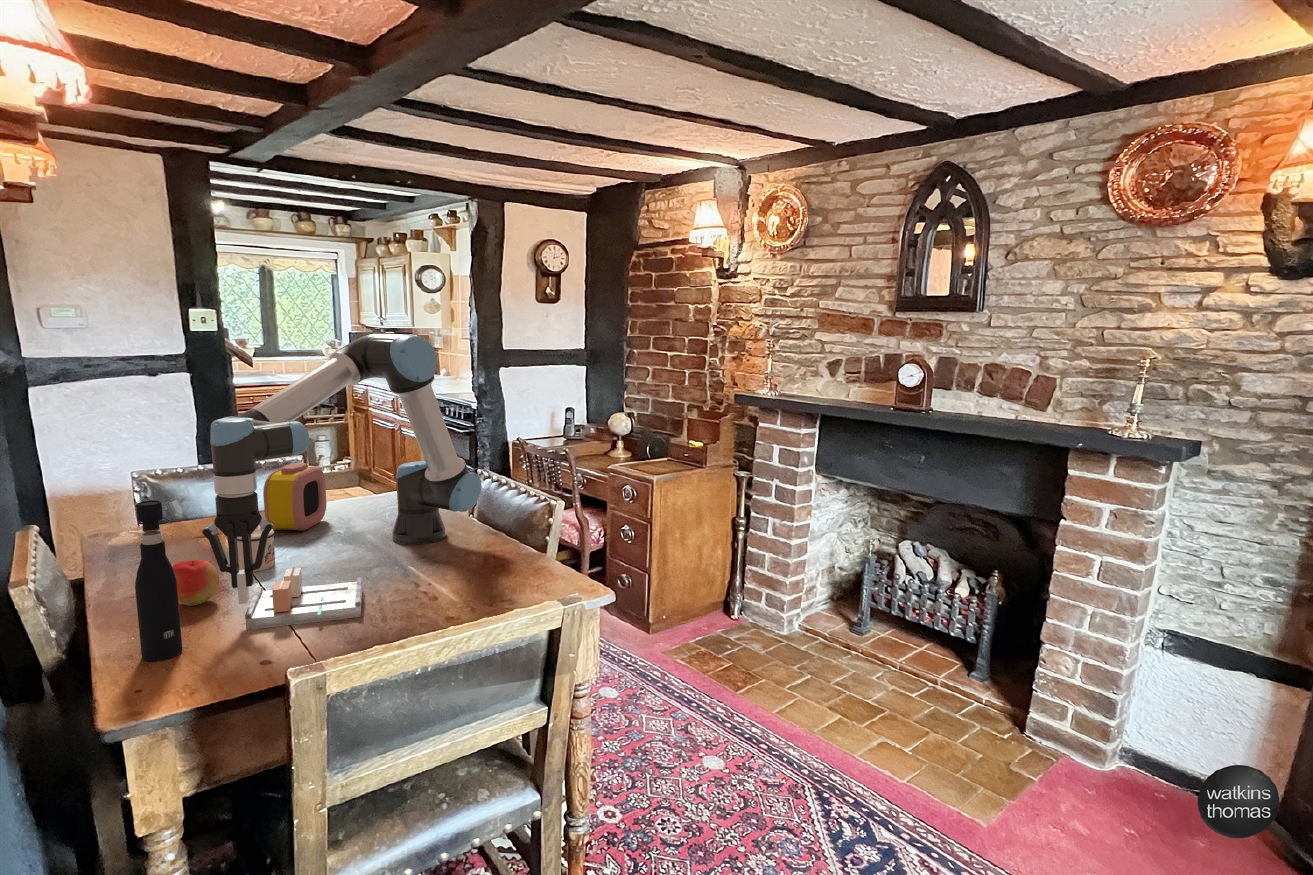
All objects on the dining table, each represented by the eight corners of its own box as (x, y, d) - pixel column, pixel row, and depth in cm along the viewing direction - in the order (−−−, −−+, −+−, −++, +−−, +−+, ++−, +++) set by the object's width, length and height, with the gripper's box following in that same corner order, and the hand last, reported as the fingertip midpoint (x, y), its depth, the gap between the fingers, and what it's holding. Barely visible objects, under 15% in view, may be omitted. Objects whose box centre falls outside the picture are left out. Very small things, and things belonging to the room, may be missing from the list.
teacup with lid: (273, 570, 180) (271, 526, 178) (233, 574, 176) (229, 529, 174) (279, 555, 191) (277, 514, 189) (241, 559, 187) (238, 517, 185)
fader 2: (302, 588, 162) (301, 566, 161) (300, 596, 157) (298, 574, 156) (287, 589, 161) (286, 568, 160) (285, 597, 156) (283, 575, 155)
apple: (182, 615, 152) (178, 571, 150) (161, 605, 157) (157, 562, 155) (228, 601, 160) (225, 559, 158) (207, 592, 165) (203, 551, 163)
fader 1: (292, 602, 154) (290, 579, 153) (289, 610, 149) (288, 587, 149) (276, 603, 153) (275, 580, 152) (273, 612, 148) (272, 589, 147)
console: (362, 587, 170) (361, 574, 170) (360, 620, 151) (359, 605, 151) (259, 597, 162) (259, 583, 162) (244, 634, 143) (243, 618, 143)
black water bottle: (155, 646, 137) (141, 498, 132) (189, 646, 138) (177, 498, 133) (134, 662, 131) (118, 507, 126) (170, 661, 131) (156, 507, 127)
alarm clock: (299, 535, 209) (296, 472, 206) (263, 534, 209) (258, 471, 206) (329, 518, 227) (326, 460, 224) (295, 517, 227) (292, 459, 224)
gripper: (274, 487, 150) (280, 591, 154) (203, 490, 145) (212, 598, 149) (269, 495, 143) (276, 604, 147) (195, 499, 139) (204, 611, 142)
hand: (244, 601), depth 148 cm, fingers closed
